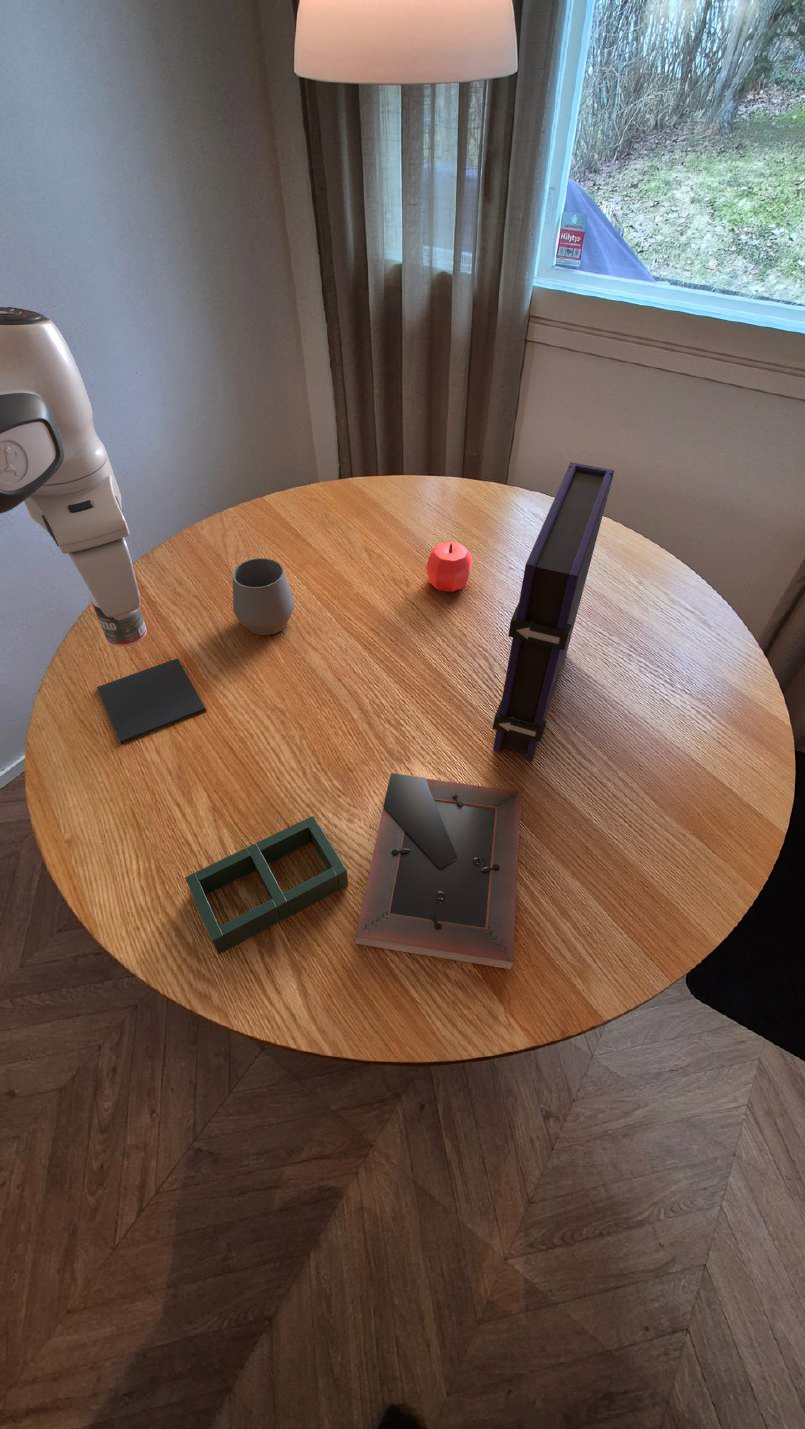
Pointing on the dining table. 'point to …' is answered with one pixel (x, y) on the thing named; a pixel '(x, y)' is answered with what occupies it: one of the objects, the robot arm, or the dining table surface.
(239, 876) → the holder
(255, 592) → the cup
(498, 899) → the picture frame
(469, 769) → the dining table surface
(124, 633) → the pill bottle
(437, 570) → the apple
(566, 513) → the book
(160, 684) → the mat
